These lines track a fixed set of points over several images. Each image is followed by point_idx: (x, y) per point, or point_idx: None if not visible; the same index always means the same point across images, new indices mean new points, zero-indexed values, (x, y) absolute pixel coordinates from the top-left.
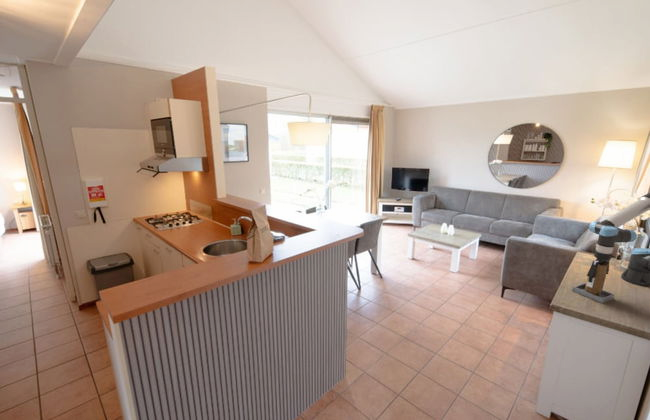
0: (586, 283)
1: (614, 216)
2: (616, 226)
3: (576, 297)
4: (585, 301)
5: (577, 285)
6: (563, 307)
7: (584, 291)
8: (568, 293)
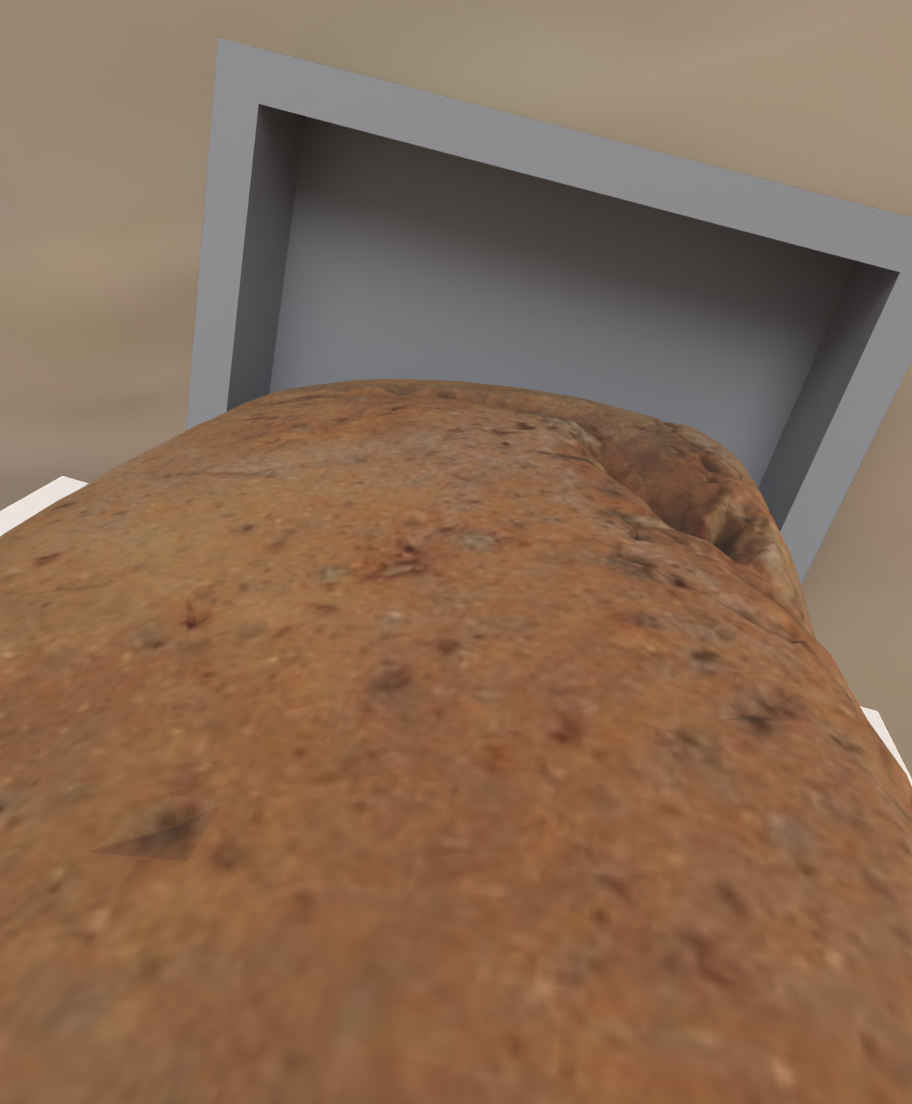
0: (104, 474)
1: None
2: None
3: (5, 270)
4: (5, 455)
5: (477, 121)
6: None
7: (192, 396)
8: (31, 46)
